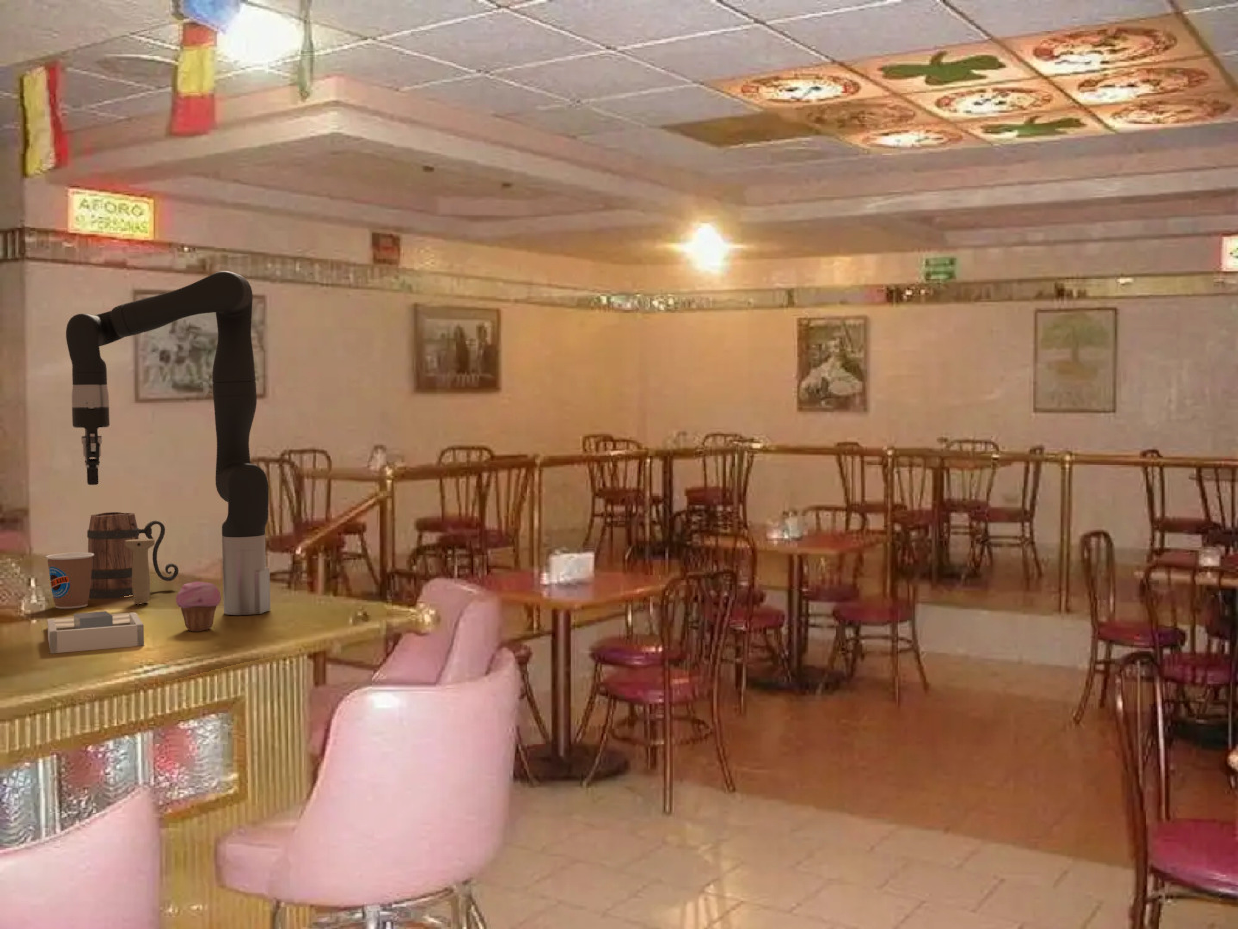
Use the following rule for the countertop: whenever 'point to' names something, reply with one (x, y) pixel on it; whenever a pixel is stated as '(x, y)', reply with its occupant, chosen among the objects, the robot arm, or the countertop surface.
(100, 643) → the box
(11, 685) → the countertop surface
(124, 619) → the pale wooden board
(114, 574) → the tankard
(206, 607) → the cupcake
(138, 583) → the handle
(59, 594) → the coffee cup
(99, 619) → the matte grey cube
